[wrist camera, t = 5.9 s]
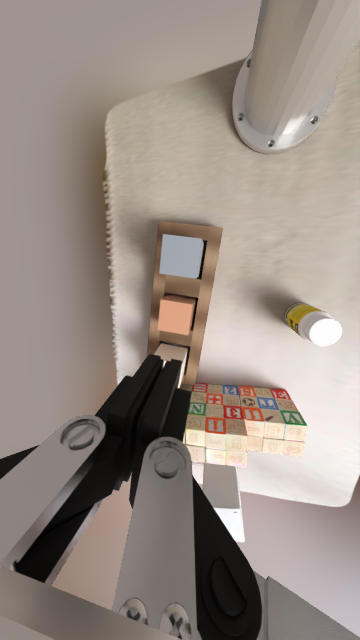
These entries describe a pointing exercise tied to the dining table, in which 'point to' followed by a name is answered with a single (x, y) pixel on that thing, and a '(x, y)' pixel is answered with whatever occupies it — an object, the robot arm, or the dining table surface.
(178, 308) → the peach block
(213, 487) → the small box
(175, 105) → the dining table surface
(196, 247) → the button slate
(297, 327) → the supplement bottle
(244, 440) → the stack of blocks
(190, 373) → the button board
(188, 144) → the dining table surface
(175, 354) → the button cream
